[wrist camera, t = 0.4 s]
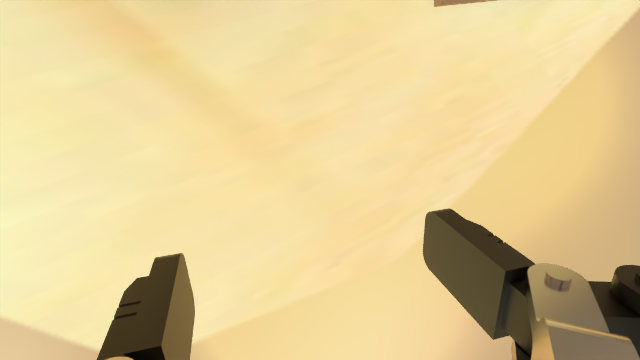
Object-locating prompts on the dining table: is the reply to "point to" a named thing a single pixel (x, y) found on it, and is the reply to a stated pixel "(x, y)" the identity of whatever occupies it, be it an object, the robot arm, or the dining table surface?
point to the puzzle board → (455, 2)
